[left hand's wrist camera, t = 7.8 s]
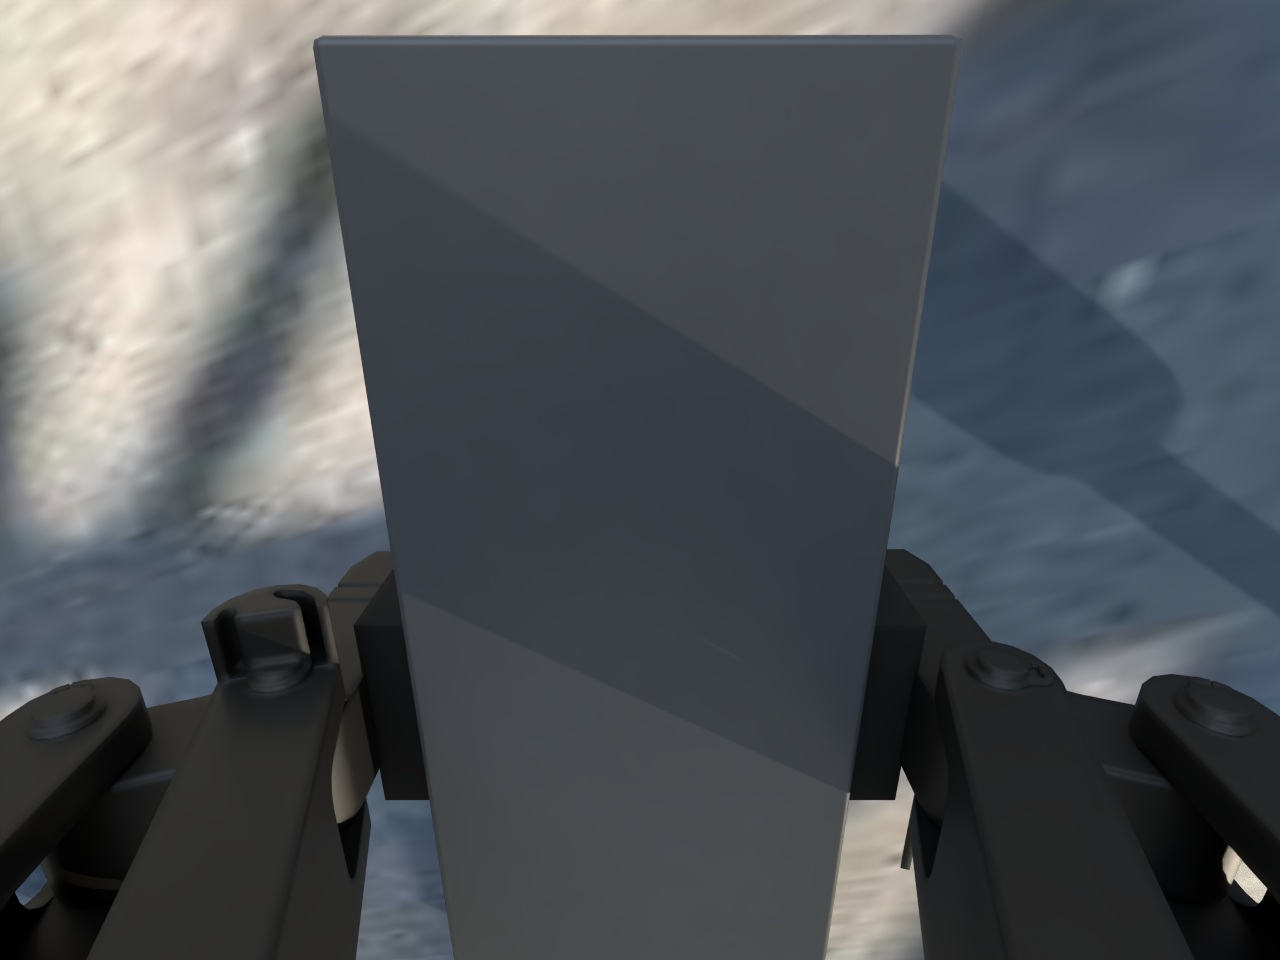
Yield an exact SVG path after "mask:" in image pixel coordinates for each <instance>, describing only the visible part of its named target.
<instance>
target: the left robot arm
mask: <svg viewBox="0 0 1280 960" xmlns="http://www.w3.org/2000/svg"><path fill="white" fill-rule="evenodd" d="M201 624H202V627H203V631H204V634H205V638H206V642H207V645H208V649H209V652H210V656H211V659H212V663H213V667H214V670H215V674H216V677H217V681H218V683H217V685H216V687H215V690H214V692H213V694H211V695H207V696H203V697H199V698H194V699H189V700H184V701H179V702H174V703H169V704H164V705H159V706H154V707H149V708H146V705H145V702H144V699H143V696H142V693H141V690H140V687H139V686H137V685H136V684H135V683H133V682H132V681H130V680H129V679H121V678H114V677H107V678H99V679H91V680H82V681H78V682H73V683H72V684H71V685H69V684H67V685H64V686H61V687H58V688H55V689H53V690H51V691H50V692H48V693H46V694H44V695H42V696H40V697H37V698H35V699H33V700H31V701H29V702H27V703H26V704H24V705H23V706H21V707H20V708H18V709H17V710H15V711H14V712H12V713H11V714H9V715H8V716H6V717H5V718H4V719H3V720H1V721H0V960H356V951H357V943H358V934H359V925H360V917H361V908H362V899H363V890H364V882H365V873H366V864H367V856H368V847H369V838H370V829H371V822H370V815H369V809H368V804H367V799H366V796H367V794H368V792H369V789H370V787H371V785H372V783H373V781H374V779H375V777H376V775H377V772H378V770H379V768H380V773H381V779H382V784H383V789H384V795H385V800H430V799H429V793H428V787H427V780H426V774H425V767H424V761H423V754H422V748H421V741H420V735H419V728H418V722H417V715H416V709H415V702H414V696H413V690H412V683H411V677H410V670H409V664H408V657H407V651H406V644H405V638H404V631H403V625H402V618H401V612H400V606H399V599H398V593H397V586H396V580H395V573H394V567H393V560H392V554H391V552H375V553H373V554H372V555H370V556H368V557H367V558H365V559H363V560H362V561H360V562H359V563H357V564H355V565H354V566H352V567H351V568H350V570H349V571H348V572H347V573H346V575H345V576H344V577H343V578H342V580H341V581H340V582H339V583H338V587H335V588H334V589H333V591H332V592H331V593H330V594H329V596H328V597H327V596H326V594H324V593H323V592H322V591H320V590H319V589H317V588H315V587H310V586H305V585H300V584H296V585H276V586H271V587H266V588H262V589H257V590H253V591H250V592H248V593H245V594H242V595H240V596H237V597H234V598H232V599H230V600H228V601H227V602H225V603H223V604H221V605H220V606H218V607H216V608H215V609H213V610H212V611H211V612H210V613H209V614H208V615H207V616H206V617H205V618H204V620H203V621H202V622H201ZM901 766H902V768H903V770H904V772H905V774H906V777H907V779H908V781H909V783H910V785H911V787H912V789H913V791H914V799H913V804H912V809H911V814H910V819H909V824H908V829H907V835H906V840H905V845H904V850H903V855H902V862H901V868H903V869H908V870H910V866H911V861H912V856H913V863H914V871H915V880H916V889H917V897H918V906H919V915H920V923H921V932H922V941H923V950H924V958H925V960H1280V716H1278V715H1277V714H1276V713H1274V712H1273V711H1271V710H1270V709H1268V708H1267V707H1265V706H1264V705H1262V704H1261V703H1259V702H1258V701H1256V700H1255V699H1253V698H1251V697H1249V696H1247V695H1245V694H1242V693H1240V692H1238V691H1236V690H1234V689H1232V688H1231V687H1229V686H1227V685H1224V684H1221V683H1218V682H1215V681H1213V682H1211V681H1210V680H1209V679H1204V678H1200V677H1191V676H1183V675H1175V674H1168V675H1160V676H1153V677H1151V678H1150V679H1148V680H1147V681H1146V682H1144V683H1143V684H1142V686H1141V689H1140V692H1139V695H1138V698H1137V701H1136V704H1135V705H1131V704H1126V703H1121V702H1116V701H1111V700H1106V699H1101V698H1096V697H1091V696H1086V695H1081V694H1077V693H1073V692H1069V691H1067V690H1066V688H1065V686H1064V684H1063V682H1062V681H1061V679H1060V678H1059V677H1058V675H1057V674H1056V673H1055V672H1054V670H1053V669H1052V668H1051V667H1050V666H1048V665H1047V664H1045V663H1044V662H1042V661H1041V660H1040V659H1038V658H1037V657H1035V656H1034V655H1032V654H1029V653H1027V652H1025V651H1022V650H1020V649H1018V648H1015V647H1013V646H1010V645H1006V644H1001V643H997V642H993V641H991V640H990V639H989V637H988V636H987V635H986V634H985V633H984V631H983V630H982V629H981V628H980V626H979V625H978V624H977V623H976V621H975V620H974V619H973V618H972V617H971V615H970V614H969V613H968V612H967V610H966V609H965V608H964V607H963V606H962V604H961V603H960V602H959V601H958V600H955V596H954V595H953V593H952V592H951V591H950V590H949V588H948V587H947V586H946V585H943V581H942V580H941V579H940V577H939V576H938V575H937V574H936V573H935V571H934V570H933V569H932V568H931V566H930V565H929V564H927V563H926V562H924V561H923V560H921V559H919V558H918V557H916V556H914V555H913V554H911V553H909V552H908V551H906V550H904V549H887V550H886V557H885V563H884V570H883V577H882V583H881V590H880V597H879V603H878V610H877V617H876V623H875V630H874V637H873V643H872V650H871V657H870V663H869V670H868V677H867V683H866V690H865V697H864V703H863V710H862V717H861V724H860V730H859V737H858V744H857V750H856V757H855V764H854V770H853V777H852V784H851V790H850V797H849V800H895V797H896V792H897V786H898V781H899V775H900V770H901ZM1242 861H1243V862H1244V863H1245V864H1246V865H1247V866H1248V867H1249V869H1250V870H1251V871H1252V872H1253V873H1254V874H1255V875H1256V876H1257V877H1258V879H1259V880H1260V881H1261V882H1262V883H1263V884H1264V885H1265V886H1266V887H1267V891H1266V893H1265V895H1264V897H1263V899H1262V901H1261V902H1260V903H1256V902H1255V901H1254V900H1253V899H1252V898H1251V897H1250V896H1249V895H1248V894H1247V893H1246V892H1245V891H1244V890H1243V889H1242V888H1241V887H1240V885H1239V884H1238V883H1237V882H1236V881H1235V880H1234V878H1235V875H1236V873H1237V871H1238V869H1239V866H1240V864H1241V862H1242ZM39 864H40V865H41V867H42V869H43V872H44V874H45V876H46V878H47V881H48V882H47V883H46V884H45V885H44V887H43V888H42V889H41V890H40V891H39V893H38V894H37V895H36V896H35V897H34V898H32V899H31V900H30V901H29V902H28V903H26V904H25V905H24V906H23V905H22V904H21V903H20V902H19V900H18V898H17V896H16V894H15V891H16V890H17V889H18V888H19V887H20V886H21V884H22V883H23V882H24V881H25V880H26V879H27V878H28V877H29V875H30V874H31V873H32V872H33V871H34V870H35V869H36V868H37V866H38V865H39Z"/></svg>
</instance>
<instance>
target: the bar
mask: <svg viewBox="0 0 1280 960" xmlns="http://www.w3.org/2000/svg"><path fill="white" fill-rule="evenodd" d="M961 49H962V45H961V39H959V38H957V37H955V36H953V35H417V36H322V37H319V38H317V39H315V40H314V46H313V50H314V56H315V63H316V69H317V76H318V82H319V89H320V95H321V101H322V108H323V114H324V121H325V127H326V134H327V140H328V147H329V153H330V160H331V166H332V173H333V179H334V185H335V192H336V198H337V205H338V211H339V218H340V224H341V231H342V237H343V244H344V250H345V257H346V263H347V270H348V276H349V282H350V289H351V295H352V302H353V308H354V315H355V321H356V328H357V334H358V341H359V347H360V354H361V360H362V366H363V373H364V379H365V386H366V392H367V399H368V405H369V412H370V418H371V425H372V431H373V438H374V444H375V450H376V457H377V463H378V470H379V476H380V483H381V489H382V496H383V502H384V509H385V515H386V522H387V528H388V534H389V541H390V547H391V554H392V560H393V567H394V573H395V580H396V586H397V593H398V599H399V606H400V612H401V618H402V625H403V631H404V638H405V644H406V651H407V657H408V664H409V670H410V677H411V683H412V690H413V696H414V702H415V709H416V715H417V722H418V728H419V735H420V741H421V748H422V754H423V761H424V767H425V774H426V780H427V787H428V793H429V799H430V806H431V812H432V819H433V825H434V832H435V838H436V845H437V851H438V858H439V864H440V871H441V877H442V883H443V890H444V896H445V903H446V909H447V916H448V922H449V929H450V935H451V942H452V948H453V955H454V960H825V957H826V951H827V944H828V937H829V930H830V924H831V917H832V910H833V904H834V897H835V890H836V884H837V877H838V870H839V864H840V857H841V850H842V844H843V837H844V830H845V824H846V817H847V810H848V804H849V797H850V790H851V784H852V777H853V770H854V764H855V757H856V750H857V744H858V737H859V730H860V724H861V717H862V710H863V703H864V697H865V690H866V683H867V677H868V670H869V663H870V657H871V650H872V643H873V637H874V630H875V623H876V617H877V610H878V603H879V597H880V590H881V583H882V577H883V570H884V563H885V557H886V550H887V543H888V537H889V530H890V523H891V517H892V510H893V503H894V497H895V490H896V483H897V476H898V470H899V463H900V456H901V450H902V443H903V436H904V430H905V423H906V416H907V410H908V403H909V396H910V390H911V383H912V376H913V370H914V363H915V356H916V350H917V343H918V336H919V330H920V323H921V316H922V310H923V303H924V296H925V290H926V283H927V276H928V269H929V263H930V256H931V249H932V243H933V236H934V229H935V223H936V216H937V209H938V203H939V196H940V189H941V183H942V176H943V169H944V163H945V156H946V149H947V143H948V136H949V129H950V123H951V116H952V109H953V103H954V96H955V89H956V83H957V76H958V69H959V63H960V56H961Z"/></svg>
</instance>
